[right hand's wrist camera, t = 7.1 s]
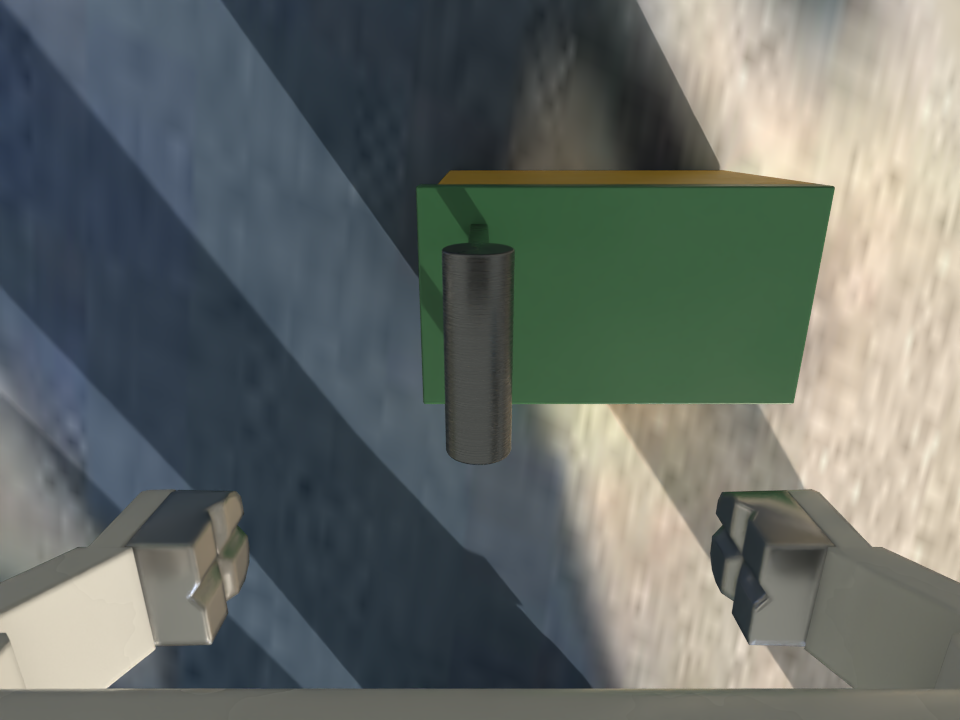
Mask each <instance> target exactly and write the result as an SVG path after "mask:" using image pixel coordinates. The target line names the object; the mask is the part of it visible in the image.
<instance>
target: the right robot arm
mask: <svg viewBox="0 0 960 720" xmlns="http://www.w3.org/2000/svg"><path fill="white" fill-rule="evenodd" d="M243 515H244V510H243V505H242V500H241V496H240V495H239V494H238V493H237V492H236V491H208V490H147V491H142V492H141V493H140V494H139V495H138V496H137V497H136V498H135V499H134V500H133V501H132V502H131V503H130V504H129V505H128V506H127V507H126V508H125V509H124V510H123V511H122V512H121V513H120V514H119V515H118V517H117V518H116V519H115V520H114V521H113V522H112V523H111V524H110V525H109V526H108V527H107V528H106V529H105V530H104V531H103V532H102V533H101V534H100V535H99V536H98V537H97V538H96V539H95V540H94V541H93V542H92V543H91V544H90V546H89V547H77V548H75V549H73V550H71V551H69V552H66V553H64V554H62V555H60V556H58V557H56V558H53V559H51V560H49V561H47V562H45V563H42V564H40V565H38V566H36V567H34V568H32V569H29V570H27V571H25V572H23V573H21V574H19V575H16V576H14V577H12V578H10V579H8V580H5V581H3V582H1V583H0V720H960V583H959V582H956V581H954V580H952V579H950V578H948V577H946V576H943V575H941V574H939V573H937V572H935V571H933V570H930V569H928V568H926V567H924V566H922V565H920V564H917V563H915V562H913V561H911V560H909V559H907V558H904V557H902V556H900V555H898V554H896V553H894V552H891V551H889V550H887V549H885V548H883V547H872V546H871V545H870V544H869V543H868V542H867V541H866V540H865V539H864V538H863V537H862V536H861V535H860V534H859V533H858V532H857V531H856V530H855V529H854V528H853V527H852V526H851V525H850V524H849V523H848V522H847V521H846V520H845V518H844V517H843V516H842V515H841V514H840V513H839V512H838V511H837V510H836V509H835V508H834V507H833V506H832V505H831V504H830V503H829V502H828V501H827V500H826V499H825V498H824V497H823V496H822V495H821V494H820V493H819V492H817V491H815V490H812V489H805V490H782V491H743V492H722V493H721V495H720V497H719V500H718V504H717V510H716V515H717V516H718V518H719V520H720V521H721V523H722V524H723V526H722V527H721V528H720V529H719V530H718V531H717V532H716V533H715V534H714V535H713V536H712V543H711V552H710V555H711V565H712V572H713V575H714V578H715V581H716V584H717V586H718V587H719V589H720V591H721V593H722V594H724V595H725V596H727V597H728V598H730V599H731V600H733V601H734V603H733V609H732V614H733V616H734V618H735V620H736V622H737V624H738V625H739V627H740V629H741V631H742V633H743V635H744V637H745V638H746V640H747V642H748V644H749V645H774V646H805V648H804V649H805V650H806V651H808V652H809V653H810V654H811V655H813V656H814V657H815V658H816V659H818V660H819V661H820V662H821V663H823V664H824V665H825V666H826V667H828V668H829V669H830V670H831V671H833V672H834V673H835V674H836V675H838V676H839V677H840V678H841V679H843V680H844V681H845V682H846V683H848V684H849V685H850V686H851V687H853V688H854V689H106V688H108V687H109V686H110V685H111V684H113V683H114V682H115V681H116V680H118V679H119V678H120V677H121V676H123V675H124V674H125V673H126V672H128V671H129V670H130V669H131V668H133V667H134V666H135V665H136V664H138V663H139V662H140V661H141V660H143V659H144V658H145V657H146V656H148V655H149V654H150V653H151V652H153V651H154V650H155V646H185V645H211V644H212V642H213V640H214V638H215V637H216V635H217V633H218V631H219V629H220V627H221V625H222V624H223V622H224V620H225V618H226V616H227V614H228V609H227V603H226V601H228V600H229V599H230V598H232V597H233V596H235V595H236V594H238V593H239V591H240V589H241V587H242V585H243V583H244V581H245V579H246V574H247V570H248V566H249V542H248V536H247V535H246V534H245V533H244V532H243V531H242V530H241V529H240V528H239V527H238V526H237V524H238V523H239V521H240V520H241V518H242V516H243Z"/></svg>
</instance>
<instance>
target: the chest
mask: <svg viewBox="0 0 960 720" xmlns="http://www.w3.org/2000/svg"><path fill="white" fill-rule="evenodd" d="M438 184H815V183H808V182H801V181H794V180H787V179H780V178H773V177H766V176H759V175H752V174H745V173H738V172H731V171H724V170H451V171H449V172H448V173H447V175H446V176H445V177H444V178H443V179H442V180H441V181H440V182H439V183H438Z"/></svg>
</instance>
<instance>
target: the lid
mask: <svg viewBox="0 0 960 720" xmlns="http://www.w3.org/2000/svg"><path fill="white" fill-rule="evenodd" d="M834 189H835V187H834V186H829V185H822V184H420V185H418V186H417V187H416V205H417V234H418V262H419V291H420V319H421V347H422V376H423V402H424V404H445V422H446V451H447V453H448V455H449V456H450V457H451V458H453V459H454V460H456V461H459V462H462V463H466V464H472V465H485V464H491V463H495V462H498V461H501V460H503V459H504V458H506V457H507V456H508V455H509V453H510V451H511V425H512V404H793V403H794V398H795V393H796V388H797V382H798V377H799V372H800V367H801V362H802V356H803V351H804V346H805V341H806V335H807V330H808V325H809V320H810V315H811V309H812V304H813V299H814V294H815V289H816V283H817V278H818V273H819V268H820V262H821V257H822V252H823V247H824V242H825V236H826V231H827V226H828V221H829V216H830V210H831V205H832V200H833V195H834Z"/></svg>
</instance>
